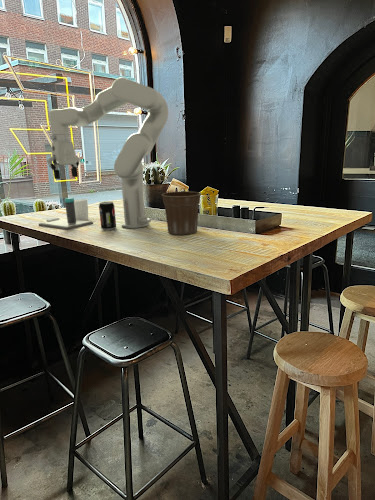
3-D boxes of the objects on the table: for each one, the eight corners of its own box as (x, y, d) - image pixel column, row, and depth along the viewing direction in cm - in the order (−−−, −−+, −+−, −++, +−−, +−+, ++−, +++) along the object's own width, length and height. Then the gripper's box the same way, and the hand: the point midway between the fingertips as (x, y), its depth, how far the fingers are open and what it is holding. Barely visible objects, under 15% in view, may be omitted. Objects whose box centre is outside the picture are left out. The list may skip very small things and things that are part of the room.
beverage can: (113, 230, 163) (110, 203, 159) (98, 230, 164) (96, 203, 161) (118, 227, 169) (116, 201, 166) (105, 227, 170) (102, 201, 167)
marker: (78, 223, 175) (75, 198, 172) (71, 225, 172) (68, 199, 168) (73, 223, 177) (69, 197, 174) (65, 224, 174) (62, 198, 171)
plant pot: (206, 228, 160) (205, 190, 156) (197, 237, 145) (195, 196, 141) (170, 227, 165) (168, 191, 160) (158, 236, 150) (155, 196, 145)
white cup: (85, 220, 189) (83, 201, 186) (71, 220, 190) (68, 201, 187) (91, 217, 196) (89, 198, 193) (77, 217, 197) (75, 199, 195)
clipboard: (92, 223, 180) (92, 219, 180) (67, 229, 169) (66, 225, 168) (64, 220, 193) (64, 216, 192) (38, 225, 181) (38, 221, 180)
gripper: (49, 138, 156) (55, 179, 161) (82, 138, 170) (86, 176, 174) (39, 139, 160) (45, 179, 165) (71, 139, 174) (76, 176, 178)
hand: (66, 177), depth 169 cm, fingers open, 9 cm apart
